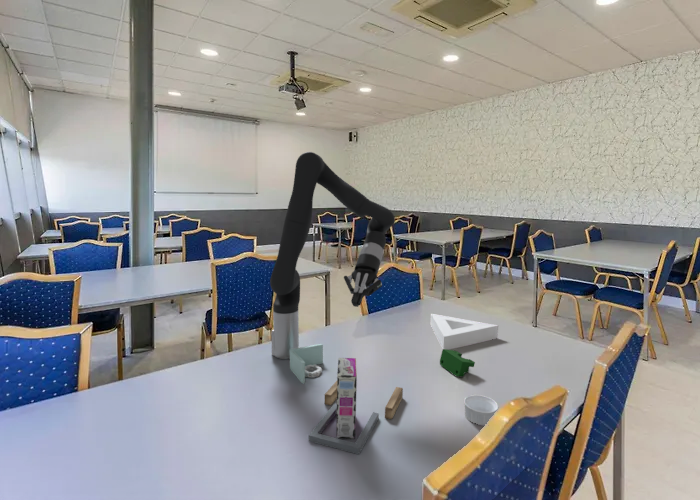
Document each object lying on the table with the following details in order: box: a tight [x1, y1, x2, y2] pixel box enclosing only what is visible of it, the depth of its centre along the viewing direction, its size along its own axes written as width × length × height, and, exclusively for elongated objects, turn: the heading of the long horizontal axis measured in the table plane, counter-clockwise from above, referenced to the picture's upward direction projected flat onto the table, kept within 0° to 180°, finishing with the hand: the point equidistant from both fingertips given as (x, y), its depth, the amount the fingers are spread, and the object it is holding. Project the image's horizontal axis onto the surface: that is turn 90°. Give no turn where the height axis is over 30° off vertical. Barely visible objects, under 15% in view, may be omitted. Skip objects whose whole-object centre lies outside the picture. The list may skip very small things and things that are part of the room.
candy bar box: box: [335, 357, 358, 440], centre depth 97 cm, size 11×5×16 cm, turn 0°
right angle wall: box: [289, 343, 324, 385], centre depth 128 cm, size 12×12×8 cm
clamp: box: [439, 349, 476, 378], centre depth 131 cm, size 12×6×9 cm, turn 16°
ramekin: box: [463, 394, 499, 427], centre depth 103 cm, size 9×9×4 cm
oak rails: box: [324, 380, 404, 420], centre depth 110 cm, size 20×12×3 cm, turn 69°
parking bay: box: [308, 403, 380, 455], centre depth 97 cm, size 13×16×2 cm
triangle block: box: [429, 313, 499, 350], centre depth 158 cm, size 30×26×6 cm
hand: (355, 305), depth 114 cm, fingers closed
